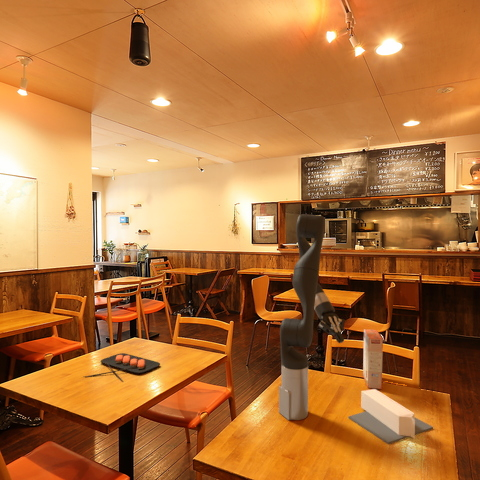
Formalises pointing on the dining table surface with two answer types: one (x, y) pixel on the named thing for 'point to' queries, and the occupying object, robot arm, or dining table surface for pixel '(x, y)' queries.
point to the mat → (385, 427)
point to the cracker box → (372, 359)
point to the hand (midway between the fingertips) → (341, 341)
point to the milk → (388, 412)
